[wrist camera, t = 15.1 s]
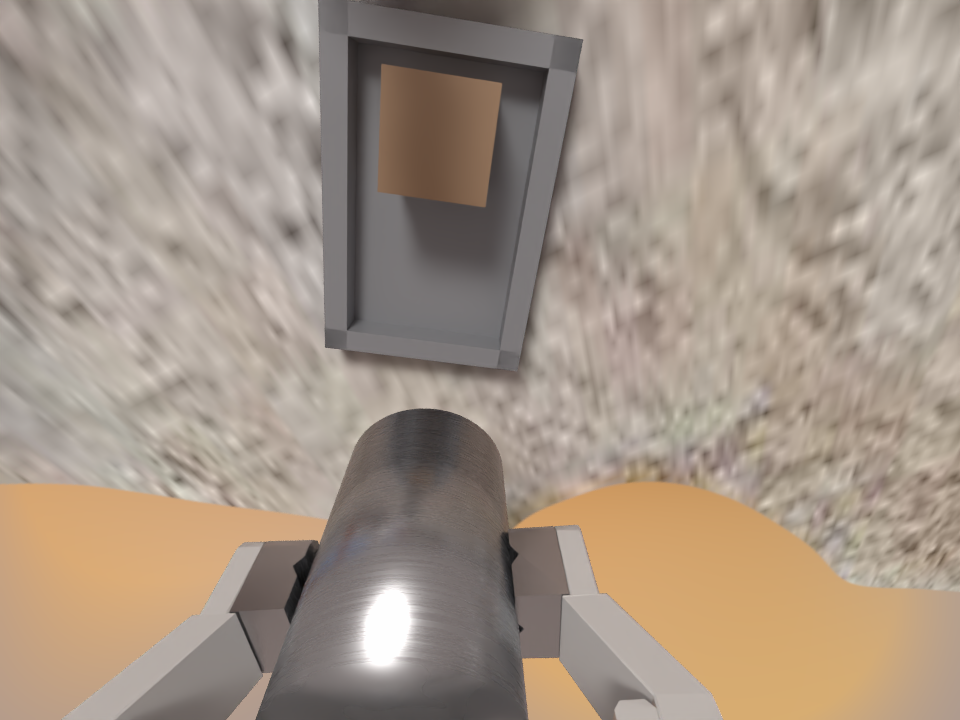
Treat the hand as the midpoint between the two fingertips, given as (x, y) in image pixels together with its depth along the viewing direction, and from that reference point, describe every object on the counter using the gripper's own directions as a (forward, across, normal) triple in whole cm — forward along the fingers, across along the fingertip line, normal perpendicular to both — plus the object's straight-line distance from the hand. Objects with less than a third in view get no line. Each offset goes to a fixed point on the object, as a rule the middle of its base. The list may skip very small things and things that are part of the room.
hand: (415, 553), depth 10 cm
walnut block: (+18, 0, -8) cm, 20 cm away
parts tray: (+18, 0, -4) cm, 19 cm away
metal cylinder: (+3, 0, 0) cm, 3 cm away
